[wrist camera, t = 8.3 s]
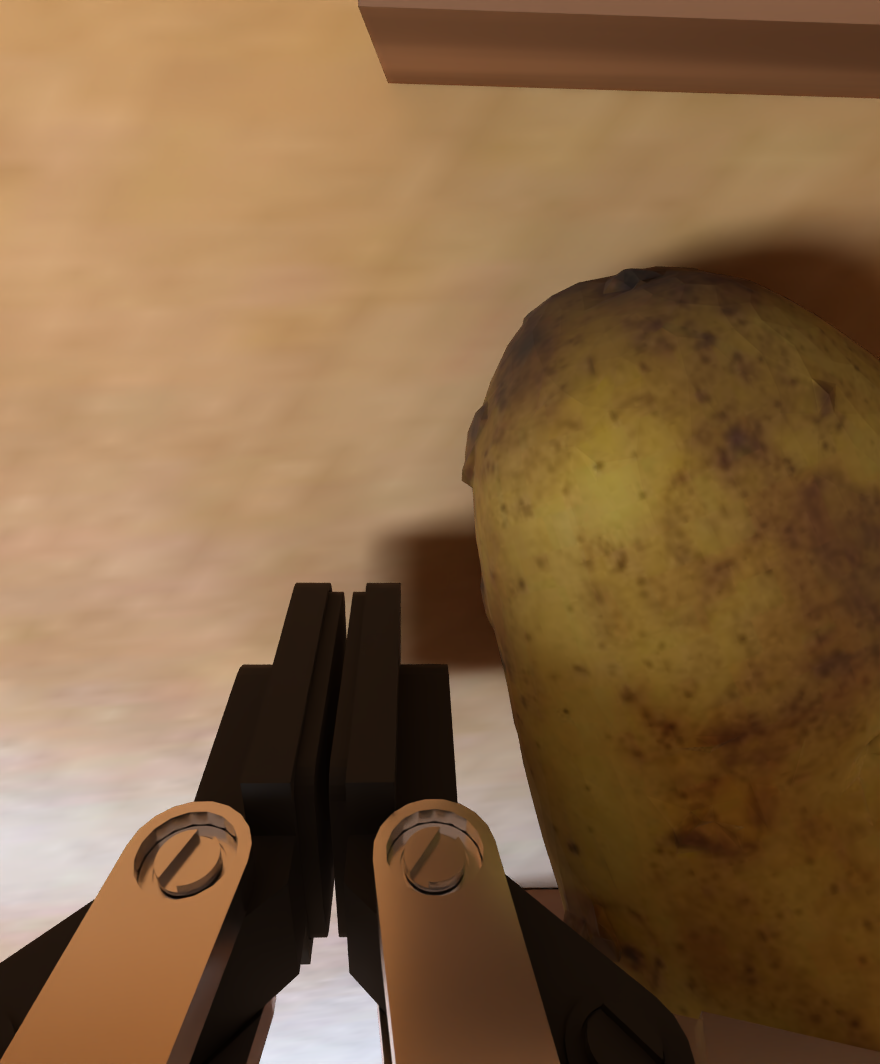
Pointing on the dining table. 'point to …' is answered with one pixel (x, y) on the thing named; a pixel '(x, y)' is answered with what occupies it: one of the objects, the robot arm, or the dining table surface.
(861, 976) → the potato
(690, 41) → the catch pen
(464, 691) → the dining table surface
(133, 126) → the dining table surface
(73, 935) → the robot arm
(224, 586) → the dining table surface
